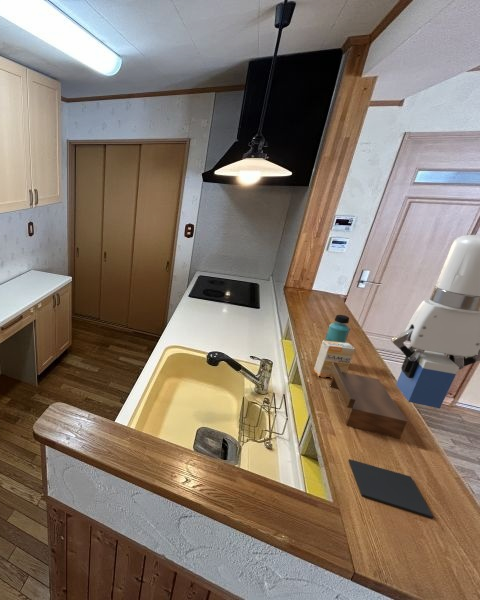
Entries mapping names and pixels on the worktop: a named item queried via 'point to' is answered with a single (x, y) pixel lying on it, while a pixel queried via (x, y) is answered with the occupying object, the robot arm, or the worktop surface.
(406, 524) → the worktop surface
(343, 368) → the supplement box
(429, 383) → the box
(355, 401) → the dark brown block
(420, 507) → the mat
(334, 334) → the beverage bottle
